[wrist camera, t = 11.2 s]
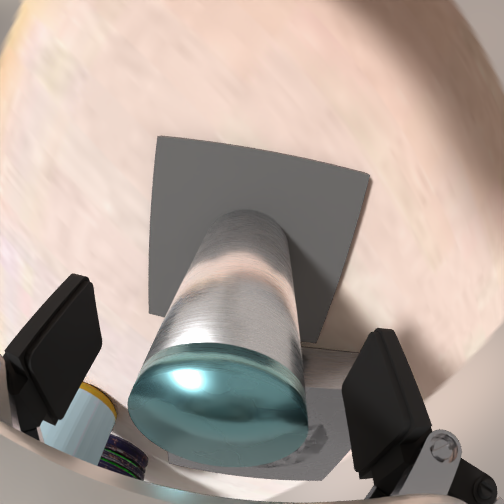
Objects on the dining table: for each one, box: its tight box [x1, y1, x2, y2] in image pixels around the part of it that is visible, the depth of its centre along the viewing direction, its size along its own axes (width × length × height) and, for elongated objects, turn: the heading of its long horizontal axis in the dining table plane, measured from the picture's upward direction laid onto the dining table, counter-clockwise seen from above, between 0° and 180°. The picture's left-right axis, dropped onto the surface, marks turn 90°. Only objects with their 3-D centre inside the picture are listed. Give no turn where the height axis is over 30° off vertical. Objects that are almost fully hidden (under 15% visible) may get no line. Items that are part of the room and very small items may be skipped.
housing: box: [168, 347, 359, 481], centre depth 23 cm, size 16×16×4 cm
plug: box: [128, 210, 309, 467], centre depth 13 cm, size 5×5×12 cm
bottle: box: [40, 382, 117, 466], centre depth 20 cm, size 7×7×15 cm
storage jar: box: [97, 434, 148, 481], centre depth 25 cm, size 10×10×15 cm
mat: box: [149, 136, 370, 343], centre depth 18 cm, size 12×12×1 cm
